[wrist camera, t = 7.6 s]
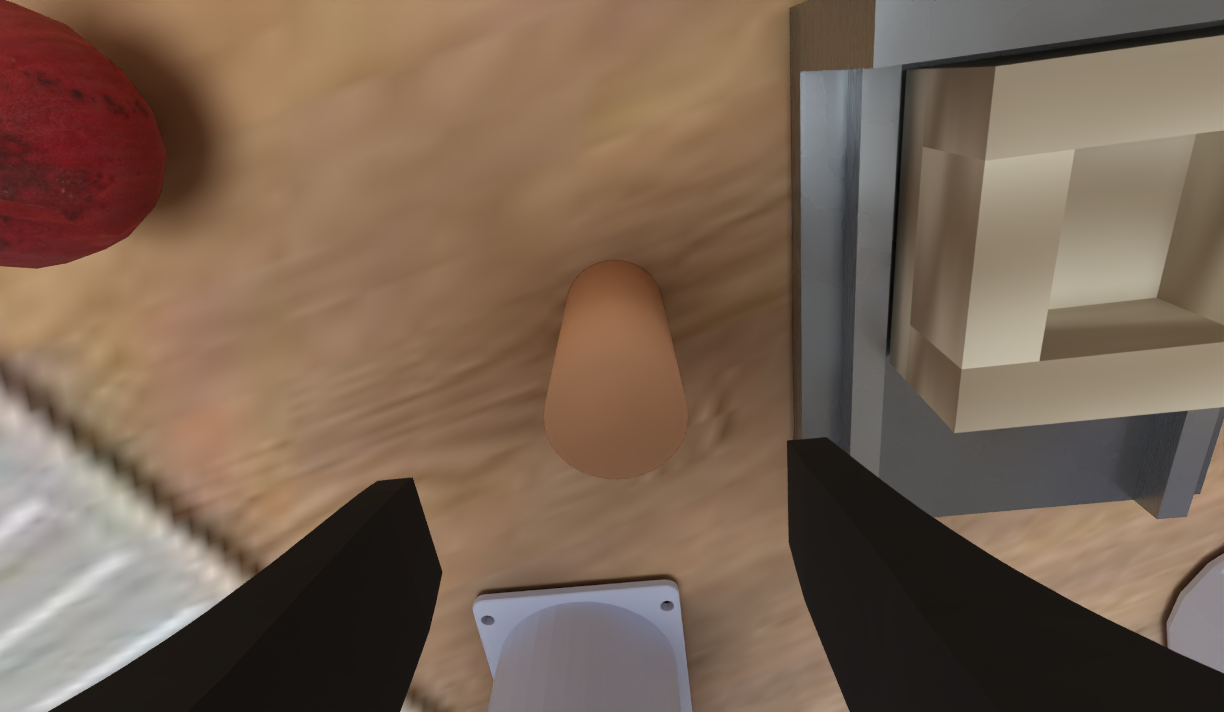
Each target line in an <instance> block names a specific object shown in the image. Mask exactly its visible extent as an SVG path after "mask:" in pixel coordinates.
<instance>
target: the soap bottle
mask: <svg viewBox="0 0 1224 712" xmlns="http://www.w3.org/2000/svg"><path fill="white" fill-rule="evenodd" d="M1166 624H1167V642H1168V648H1169V649H1171V650H1173V651H1175V652H1177V653H1179V654H1181V655H1184V656H1186V657H1188V658H1190V659H1193V660H1195V661H1197V662H1200V663H1202V664H1204V665H1206V666H1209V667H1211V668H1213V669H1215V670H1218V671H1220V672H1222V673H1224V553H1223V554H1222V555H1220V556H1218V557H1217V558H1215V559H1214V560H1212V561H1211V562H1209V563H1208V564H1207V565H1206V566H1205V567H1204V568H1203V569H1202V570H1201V571H1200V572H1199V573H1198V574H1197V575H1196V577H1195V578H1194V579H1193V580H1192V581H1191V582H1190V583H1189V584H1188V585H1187V586H1186V587H1185V588H1184V589H1183V590H1182V591H1181V592H1180V594H1179V596H1178V598H1177V601H1176V603H1175V605H1174V607H1173V609H1172V612H1171V614H1170V616H1169V618H1168V620H1167V623H1166Z"/></svg>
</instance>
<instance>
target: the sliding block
mask: <svg viewBox="0 0 1224 712" xmlns="http://www.w3.org/2000/svg"><path fill="white" fill-rule="evenodd" d="M889 363H890V364H891V365H892V366H893V367H894V369H895V370H896V371H897V372H898V373H899V374H900V375H901V376H902V377H903V378H904V379H905V380H906V381H907V383H908V384H909V385H910V386H911V387H912V388H913V389H914V390H915V391H916V392H917V393H918V394H919V395H920V397H921V398H922V399H923V400H924V401H925V402H926V403H927V404H928V405H929V406H930V407H931V408H932V409H933V411H934V412H935V413H936V414H937V415H938V416H939V417H940V418H941V419H942V420H943V421H944V422H945V423H946V425H947V426H948V427H949V428H950V429H951V430H952V431H953V432H954V433H961V432H971V431H982V430H992V429H1002V428H1013V427H1023V426H1033V425H1043V424H1054V423H1064V422H1074V421H1085V420H1095V419H1105V418H1115V417H1126V416H1136V415H1146V414H1157V413H1167V412H1177V411H1187V410H1198V409H1208V408H1218V407H1224V26H1217V27H1210V28H1203V29H1196V30H1188V31H1181V32H1174V33H1167V34H1160V35H1152V36H1145V37H1138V38H1131V39H1124V40H1116V41H1109V42H1102V43H1095V44H1088V45H1080V46H1073V47H1066V48H1059V49H1052V50H1044V51H1037V52H1030V53H1023V54H1016V55H1008V56H1001V57H994V58H987V59H980V60H972V61H965V62H958V63H951V64H944V65H936V66H929V67H922V68H915V69H908V70H906V87H905V104H904V121H903V138H902V155H901V172H900V189H899V206H898V223H897V240H896V257H895V273H894V290H893V307H892V324H891V341H890V358H889Z"/></svg>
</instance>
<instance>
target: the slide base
mask: <svg viewBox="0 0 1224 712" xmlns="http://www.w3.org/2000/svg"><path fill="white" fill-rule="evenodd" d="M1217 26H1224V0H808V1H805V2H803V3H801V4H798V5H796V6H794V7H792V8H790V66H791V160H792V254H793V348H794V440H800V439H810V438H820V437H827V438H828V439H830V440H831V441H832V442H834V443H835V444H836V445H837V446H839V447H840V448H841V449H843V450H844V451H845V452H846V453H848V454H849V455H850V456H851V457H853V458H854V459H855V460H857V461H858V462H859V463H860V464H862V465H863V466H864V467H866V468H867V469H868V470H869V471H871V472H872V473H873V474H875V475H876V476H877V477H878V478H880V479H881V480H882V481H884V482H885V483H886V484H888V485H889V486H890V487H892V488H893V489H894V490H896V491H897V492H898V493H900V494H901V495H902V496H904V497H905V498H907V499H908V500H909V501H911V502H912V503H913V504H915V505H916V506H918V507H919V508H920V509H922V510H923V511H925V512H926V513H928V514H929V515H930V516H932V517H941V516H953V515H964V514H975V513H987V512H998V511H1009V510H1021V509H1032V508H1044V507H1055V506H1066V505H1078V504H1089V503H1100V502H1112V501H1123V500H1134V501H1136V502H1137V503H1138V504H1139V505H1140V506H1142V507H1143V508H1144V509H1145V510H1146V511H1148V512H1149V513H1150V514H1151V515H1153V516H1154V517H1155V518H1156V519H1164V518H1176V517H1187V514H1188V511H1189V508H1190V504H1191V501H1192V498H1193V495H1194V494H1200V492H1201V489H1202V486H1203V483H1204V479H1205V476H1206V473H1207V470H1208V467H1209V464H1210V460H1211V457H1212V454H1213V451H1214V448H1215V445H1216V441H1217V438H1218V435H1219V432H1220V429H1221V426H1222V422H1223V419H1224V407H1218V408H1208V409H1198V410H1187V411H1177V412H1167V413H1157V414H1146V415H1136V416H1126V417H1115V418H1105V419H1095V420H1085V421H1074V422H1064V423H1054V424H1043V425H1033V426H1023V427H1013V428H1002V429H992V430H982V431H971V432H961V433H954V432H953V431H952V430H951V429H950V428H949V427H948V426H947V425H946V423H945V422H944V421H943V420H942V419H941V418H940V417H939V416H938V415H937V414H936V413H935V412H934V411H933V409H932V408H931V407H930V406H929V405H928V404H927V403H926V402H925V401H924V400H923V399H922V398H921V397H920V395H919V394H918V393H917V392H916V391H915V390H914V389H913V388H912V387H911V386H910V385H909V384H908V383H907V381H906V380H905V379H904V378H903V377H902V376H901V375H900V374H899V373H898V372H897V371H896V370H895V369H894V367H893V366H892V365H891V364H890V363H889V358H890V341H891V324H892V307H893V290H894V273H895V257H896V240H897V223H898V206H899V189H900V172H901V155H902V138H903V121H904V104H905V87H906V70H908V69H915V68H922V67H929V66H936V65H944V64H951V63H958V62H965V61H972V60H980V59H987V58H994V57H1001V56H1008V55H1016V54H1023V53H1030V52H1037V51H1044V50H1052V49H1059V48H1066V47H1073V46H1080V45H1088V44H1095V43H1102V42H1109V41H1116V40H1124V39H1131V38H1138V37H1145V36H1152V35H1160V34H1167V33H1174V32H1181V31H1188V30H1196V29H1203V28H1210V27H1217Z"/></svg>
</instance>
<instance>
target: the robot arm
mask: <svg viewBox="0 0 1224 712" xmlns="http://www.w3.org/2000/svg"><path fill="white" fill-rule="evenodd" d="M787 465H788V526H789V545H790V548H791V552H792V556H793V560H794V564H795V567H796V571H797V575H798V578H799V582H800V585H801V589H802V592H803V596H804V600H805V602H806V605H807V607H808V610H809V612H810V615H811V617H812V620H813V622H814V625H815V627H816V630H817V632H818V635H819V637H820V640H821V642H822V645H823V647H824V650H825V652H826V655H827V657H828V660H829V662H830V665H831V667H832V669H833V672H834V674H835V677H836V679H837V682H838V684H839V687H840V689H841V692H842V694H843V696H844V699H845V701H846V704H847V706H848V709H849V711H850V712H1224V673H1222V672H1220V671H1218V670H1215V669H1213V668H1211V667H1209V666H1206V665H1204V664H1202V663H1200V662H1197V661H1195V660H1193V659H1190V658H1188V657H1186V656H1184V655H1181V654H1179V653H1177V652H1175V651H1173V650H1171V649H1169V648H1167V647H1164V646H1162V645H1160V644H1158V643H1156V642H1154V641H1152V640H1150V639H1148V638H1146V637H1144V636H1141V635H1139V634H1137V633H1135V632H1133V631H1131V630H1129V629H1127V628H1125V627H1123V626H1120V625H1118V624H1116V623H1114V622H1112V621H1110V620H1108V619H1106V618H1104V617H1102V616H1100V615H1098V614H1096V613H1094V612H1092V611H1090V610H1088V609H1086V608H1084V607H1082V606H1081V605H1079V604H1077V603H1075V602H1073V601H1071V600H1069V599H1067V598H1065V597H1064V596H1062V595H1060V594H1058V593H1056V592H1055V591H1053V590H1051V589H1049V588H1047V587H1046V586H1044V585H1042V584H1040V583H1038V582H1037V581H1035V580H1033V579H1031V578H1029V577H1028V576H1026V575H1024V574H1022V573H1020V572H1019V571H1017V570H1015V569H1013V568H1012V567H1010V566H1008V565H1007V564H1005V563H1003V562H1002V561H1000V560H998V559H997V558H995V557H993V556H992V555H990V554H988V553H987V552H985V551H984V550H982V549H981V548H979V547H977V546H976V545H974V544H973V543H971V542H970V541H968V540H967V539H965V538H964V537H962V536H960V535H959V534H957V533H956V532H954V531H953V530H951V529H950V528H948V527H947V526H945V525H944V524H942V523H941V522H939V521H938V520H936V519H935V518H933V517H932V516H930V515H929V514H928V513H926V512H925V511H923V510H922V509H920V508H919V507H918V506H916V505H915V504H913V503H912V502H911V501H909V500H908V499H907V498H905V497H904V496H902V495H901V494H900V493H898V492H897V491H896V490H894V489H893V488H892V487H890V486H889V485H888V484H886V483H885V482H884V481H882V480H881V479H880V478H878V477H877V476H876V475H875V474H873V473H872V472H871V471H869V470H868V469H867V468H866V467H864V466H863V465H862V464H860V463H859V462H858V461H857V460H855V459H854V458H853V457H851V456H850V455H849V454H848V453H846V452H845V451H844V450H843V449H841V448H840V447H839V446H837V445H836V444H835V443H834V442H832V441H831V440H830V439H828V438H827V437H820V438H810V439H800V440H789V441H787ZM441 576H442V569H441V566H440V563H439V560H438V557H437V553H436V550H435V547H434V544H433V541H432V537H431V534H430V531H429V528H428V525H427V522H426V518H425V515H424V512H423V509H422V506H421V503H420V499H419V496H418V493H417V490H416V487H415V483H414V480H413V478H403V479H392V480H382V481H377V482H375V483H374V484H372V485H371V486H369V487H368V488H366V489H365V490H364V491H362V492H361V493H360V494H358V495H357V496H356V497H354V498H353V499H352V500H350V501H349V502H348V503H347V504H345V505H344V506H343V507H341V508H340V509H339V510H338V511H336V512H335V513H334V514H333V515H331V516H330V517H329V518H328V519H326V520H325V521H324V522H323V523H321V524H320V525H319V526H318V527H316V528H315V529H314V530H313V531H311V532H310V533H309V534H308V535H306V536H305V537H304V538H303V539H301V540H300V541H299V542H298V543H296V544H295V545H294V546H293V547H291V548H290V549H289V550H288V551H286V552H285V553H284V554H283V555H281V556H280V557H279V558H278V559H276V560H275V561H274V562H272V563H271V564H270V565H269V566H267V567H266V568H265V569H263V570H262V571H261V572H259V573H258V574H257V575H255V576H254V577H253V578H251V579H250V580H248V581H247V582H246V583H244V584H243V585H242V586H240V587H239V588H238V589H236V590H235V591H234V592H232V593H231V594H230V595H228V596H227V597H226V598H224V599H223V600H222V601H220V602H219V603H218V604H216V605H215V606H214V607H212V608H211V609H210V610H208V611H207V612H206V613H204V614H203V615H201V616H200V617H198V618H197V619H196V620H194V621H193V622H191V623H190V624H188V625H187V626H185V627H184V628H183V629H181V630H180V631H178V632H177V633H175V634H174V635H172V636H171V637H169V638H168V639H166V640H165V641H163V642H162V643H160V644H159V645H157V646H156V647H154V648H152V649H151V650H149V651H148V652H146V653H145V654H143V655H142V656H140V657H139V658H137V659H135V660H134V661H132V662H131V663H129V664H128V665H126V666H125V667H123V668H121V669H120V670H118V671H117V672H115V673H113V674H112V675H110V676H108V677H107V678H105V679H104V680H102V681H100V682H98V683H97V684H95V685H93V686H91V687H90V688H88V689H86V690H85V691H83V692H81V693H79V694H78V695H76V696H74V697H73V698H71V699H69V700H67V701H66V702H64V703H62V704H61V705H59V706H57V707H55V708H54V709H52V710H50V711H48V712H400V711H401V708H402V705H403V702H404V700H405V697H406V694H407V692H408V689H409V686H410V683H411V681H412V678H413V675H414V672H415V670H416V667H417V664H418V661H419V658H420V656H421V653H422V650H423V647H424V644H425V642H426V639H427V636H428V633H429V630H430V626H431V622H432V617H433V613H434V609H435V605H436V600H437V595H438V590H439V586H440V581H441ZM664 601H671V602H670V603H663V602H664ZM473 614H474V617H475V620H476V624H477V627H478V630H479V634H480V637H481V640H482V644H483V647H484V650H485V654H486V657H487V661H488V664H489V667H490V671H491V674H492V677H493V681H494V682H493V687H492V692H491V696H490V701H489V705H488V710H487V712H692V704H691V695H690V686H689V677H688V668H687V660H686V651H685V642H684V633H683V624H682V615H681V607H680V598H679V589H678V586H677V584H676V583H675V582H674V581H671V580H665V579H663V580H651V581H639V582H627V583H615V584H603V585H591V586H579V587H567V588H555V589H543V590H531V591H519V592H507V593H495V594H484V595H480V596H478V597H477V598H476V599H475V601H474V604H473ZM486 615H487V616H491V617H487V616H486Z"/></svg>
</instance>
